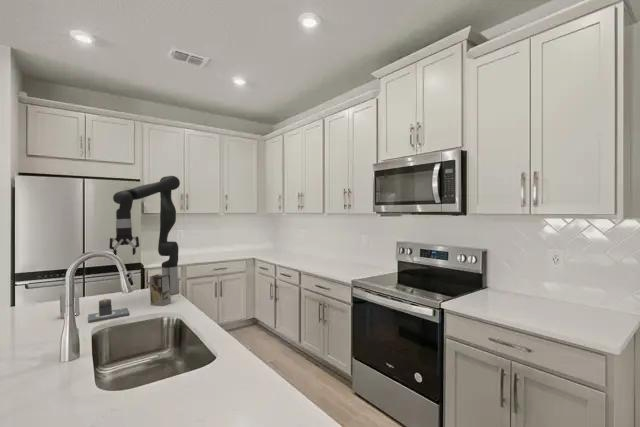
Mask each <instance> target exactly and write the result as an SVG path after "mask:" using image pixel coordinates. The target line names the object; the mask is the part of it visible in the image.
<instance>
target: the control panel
mask: <svg viewBox="0 0 640 427" xmlns="http://www.w3.org/2000/svg"><path fill="white" fill-rule="evenodd" d="M129 316H130V311H129V308H128V307H124V308H118V309H113V310H112V314H111V315H105V316H100V317H99V312H94V313H90V314H88V315H87V317H88V318H87V319H88V320H87V321H88V323H87V324H90V323H91V324H92V323H95V322H100V321H101V322H103V321H108V320H113V319H118V318H122V317H129Z"/></svg>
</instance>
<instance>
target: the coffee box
mask: <svg viewBox="0 0 640 427" xmlns="http://www.w3.org/2000/svg"><path fill="white" fill-rule="evenodd" d="M149 290H150V291H149V293H150V294H149V296H150V305H151V306H162V307H163V306H166V305H168V304H170V303H172V302H171V299H172V298H171V297H172V295H170V275H162V274H154V275H152V276H149Z"/></svg>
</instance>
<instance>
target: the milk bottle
mask: <svg viewBox="0 0 640 427" xmlns="http://www.w3.org/2000/svg"><path fill="white" fill-rule="evenodd" d="M62 281H63V286H62V289H61V290H60V293H59V310H60V312H59V313H60V317H61V318H62V319H65V318H64V313H65V277H63V279H62ZM80 310H81V309H80V292H79V290H78V287H77V286H76V285H75V313H76V316H75V317H77V316H79V315H80Z"/></svg>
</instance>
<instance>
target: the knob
mask: <svg viewBox="0 0 640 427" xmlns="http://www.w3.org/2000/svg"><path fill="white" fill-rule="evenodd" d="M112 309H113V306H112V299H110V298H108V299H107V298H103V299H101V300H99V301H98V313H99V317H100V316H105V315H111V314H112Z"/></svg>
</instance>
